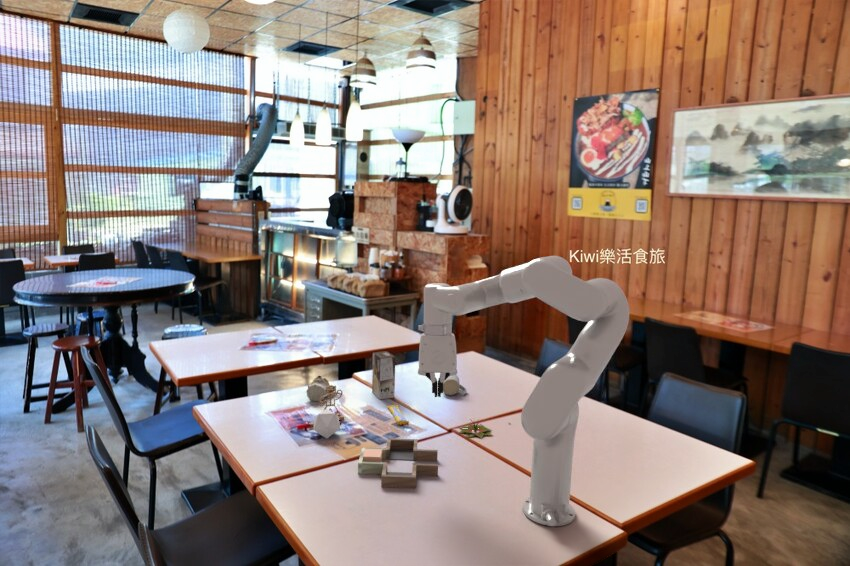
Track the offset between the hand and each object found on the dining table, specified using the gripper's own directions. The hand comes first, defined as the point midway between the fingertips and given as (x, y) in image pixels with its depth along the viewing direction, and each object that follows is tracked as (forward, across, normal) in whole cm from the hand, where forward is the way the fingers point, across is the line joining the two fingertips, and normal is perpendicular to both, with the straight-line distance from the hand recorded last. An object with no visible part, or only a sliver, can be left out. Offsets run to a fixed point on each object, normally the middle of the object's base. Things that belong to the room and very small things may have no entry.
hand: (437, 395), depth 156 cm
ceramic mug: (+22, +8, +68) cm, 72 cm away
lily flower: (+23, +13, +30) cm, 40 cm away
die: (+21, -35, +24) cm, 47 cm away
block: (+22, -18, +4) cm, 29 cm away
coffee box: (+21, -19, +63) cm, 69 cm away
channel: (+22, -11, +4) cm, 25 cm away
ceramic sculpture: (+20, -43, +59) cm, 76 cm away
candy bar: (+22, -13, +42) cm, 49 cm away
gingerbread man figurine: (+21, -36, +37) cm, 56 cm away
